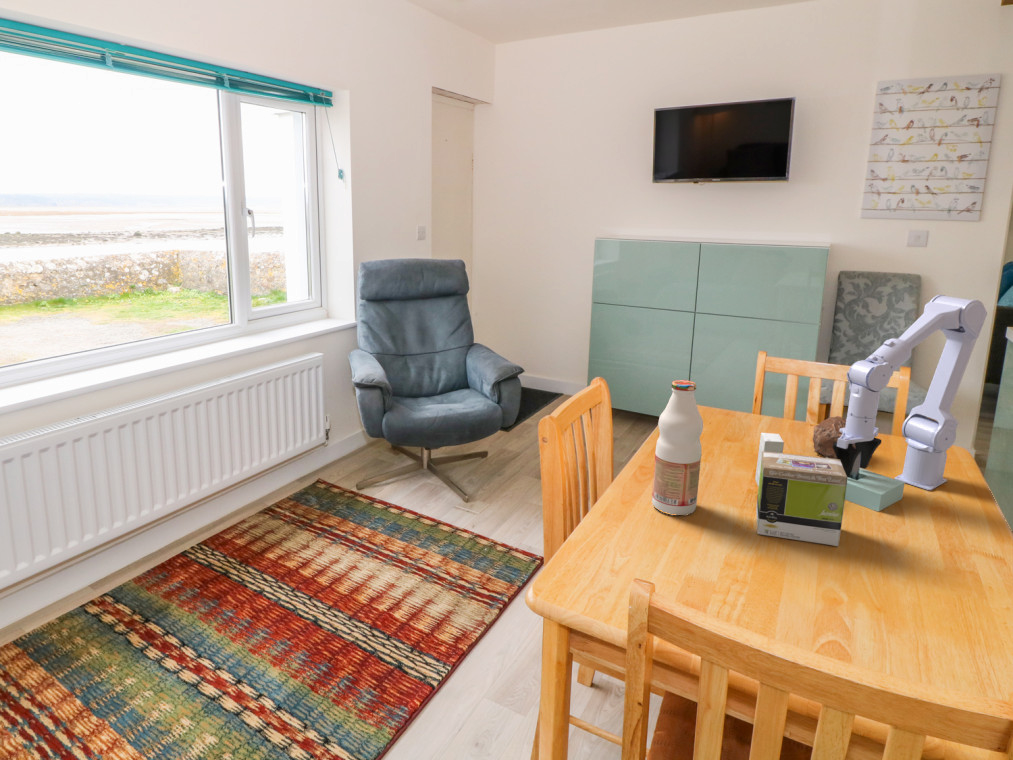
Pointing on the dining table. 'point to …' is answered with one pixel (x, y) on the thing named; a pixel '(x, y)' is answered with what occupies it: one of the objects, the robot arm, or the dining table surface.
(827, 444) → the decorative rock
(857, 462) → the metal peg
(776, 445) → the skincare box
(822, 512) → the tea box
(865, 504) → the hole block
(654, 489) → the fruit juice
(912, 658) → the dining table surface
